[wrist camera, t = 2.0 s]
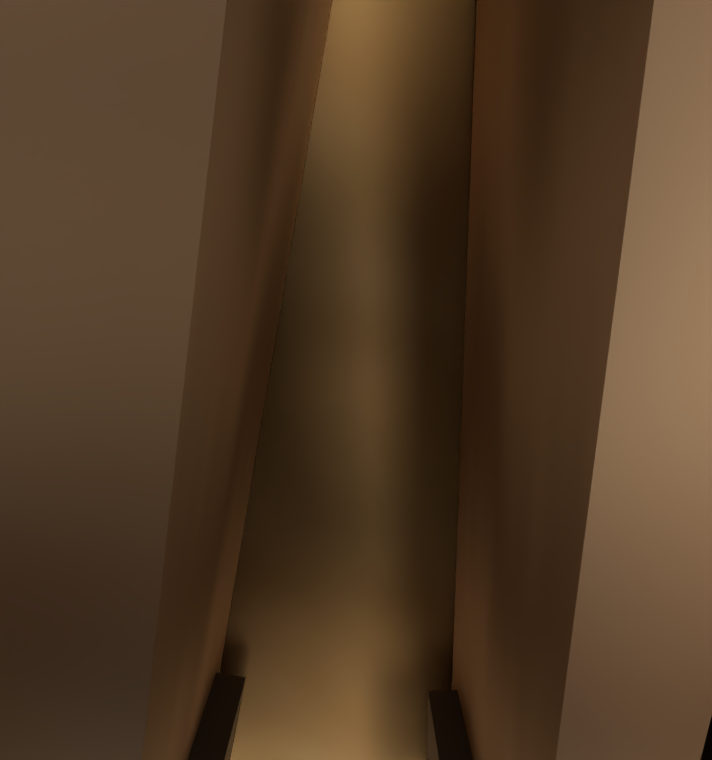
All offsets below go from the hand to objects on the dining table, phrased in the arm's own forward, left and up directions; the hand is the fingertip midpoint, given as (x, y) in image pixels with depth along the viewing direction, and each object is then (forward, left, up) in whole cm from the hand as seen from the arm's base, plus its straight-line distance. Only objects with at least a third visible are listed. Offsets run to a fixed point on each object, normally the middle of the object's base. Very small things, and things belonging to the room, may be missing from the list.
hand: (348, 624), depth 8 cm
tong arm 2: (+2, -2, -2) cm, 4 cm away
